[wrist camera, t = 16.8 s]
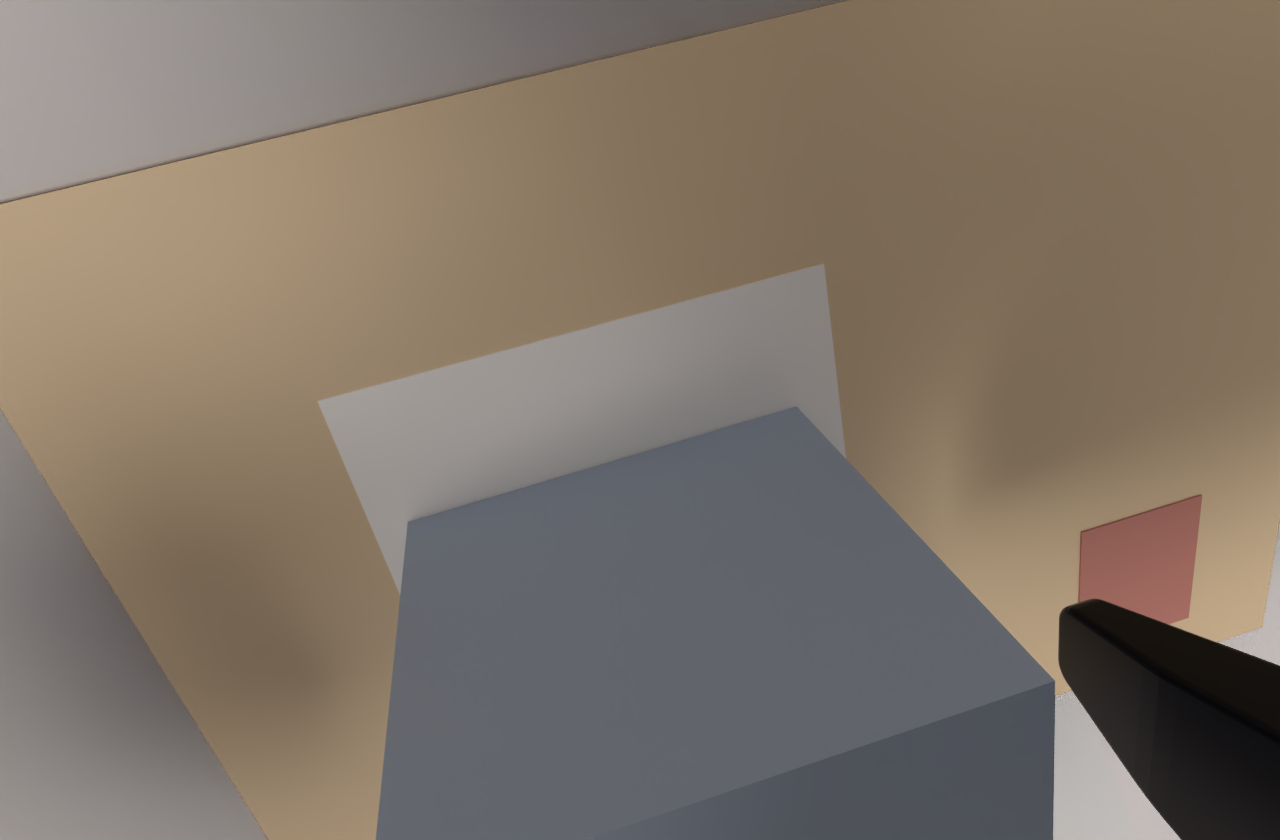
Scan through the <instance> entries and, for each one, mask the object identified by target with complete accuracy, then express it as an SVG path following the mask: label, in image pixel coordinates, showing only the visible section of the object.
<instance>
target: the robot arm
mask: <svg viewBox="0 0 1280 840" xmlns="http://www.w3.org/2000/svg"><path fill="white" fill-rule="evenodd" d="M1058 662H1059V667H1060V670H1061V673H1062V675H1063V677H1064V679H1065V681H1066V682H1067V684H1068V685H1069V687H1070V688H1071V690H1072V691H1073V692H1074V694H1075V695H1076V697H1077V698H1078V700H1079V701H1080V703H1081V704H1082V705H1083V707H1084V708H1085V710H1086V711H1087V713H1088V714H1089V716H1090V717H1091V719H1092V720H1093V721H1094V723H1095V724H1096V726H1097V727H1098V729H1099V730H1100V732H1101V733H1102V734H1103V736H1104V737H1105V739H1106V740H1107V742H1108V743H1109V745H1110V746H1111V748H1112V749H1113V750H1114V752H1115V753H1116V755H1117V756H1118V758H1119V759H1120V761H1121V762H1122V763H1123V765H1124V766H1125V768H1126V769H1127V771H1128V772H1129V774H1130V775H1131V776H1132V778H1133V779H1134V781H1135V782H1136V783H1137V785H1138V786H1139V788H1140V789H1141V790H1142V792H1143V793H1144V794H1145V796H1146V797H1147V799H1148V800H1149V801H1150V802H1151V804H1152V805H1153V806H1154V807H1155V808H1156V810H1157V811H1158V812H1159V813H1160V815H1161V816H1162V817H1163V818H1164V820H1165V821H1166V822H1167V823H1168V824H1169V826H1170V827H1171V828H1172V829H1173V830H1174V831H1175V833H1176V834H1177V835H1178V836H1179V837H1180V839H1181V840H1280V666H1279V665H1276V664H1274V663H1271V662H1268V661H1266V660H1263V659H1260V658H1258V657H1255V656H1252V655H1249V654H1247V653H1244V652H1241V651H1239V650H1236V649H1233V648H1231V647H1228V646H1225V645H1223V644H1220V643H1217V642H1215V641H1212V640H1209V639H1206V638H1204V637H1201V636H1198V635H1196V634H1193V633H1190V632H1188V631H1185V630H1182V629H1180V628H1177V627H1174V626H1172V625H1169V624H1166V623H1163V622H1161V621H1158V620H1155V619H1153V618H1150V617H1147V616H1145V615H1142V614H1139V613H1137V612H1134V611H1131V610H1128V609H1126V608H1123V607H1120V606H1118V605H1115V604H1112V603H1110V602H1107V601H1104V600H1101V599H1088V600H1085V601H1082V602H1079V603H1076V604H1072V605H1069V606H1066V607H1065V608H1063V609H1062V611H1061V613H1060V615H1059V640H1058Z"/></svg>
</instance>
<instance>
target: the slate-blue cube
mask: <svg viewBox="0 0 1280 840" xmlns="http://www.w3.org/2000/svg"><path fill="white" fill-rule="evenodd" d="M1054 726H1055V680H1054V679H1053V678H1052V677H1051V676H1050V675H1049V674H1048V673H1047V672H1046V671H1045V670H1044V669H1043V668H1042V666H1041V665H1040V664H1039V663H1038V662H1037V661H1036V660H1035V659H1034V658H1033V657H1032V656H1031V655H1030V654H1029V653H1028V652H1027V651H1026V649H1025V648H1024V647H1023V646H1022V645H1021V644H1020V643H1019V642H1018V641H1017V640H1016V639H1015V638H1014V637H1013V636H1012V635H1011V634H1010V632H1009V631H1008V630H1007V629H1006V628H1005V627H1004V626H1003V625H1002V624H1001V623H1000V622H999V621H998V620H997V619H996V618H995V617H994V615H993V614H992V613H991V612H990V611H989V610H988V609H987V608H986V607H985V606H984V605H983V604H982V603H981V602H980V601H979V600H978V598H977V597H976V596H975V595H974V594H973V593H972V592H971V591H970V590H969V589H968V588H967V587H966V586H965V585H964V584H963V583H962V581H961V580H960V579H959V578H958V577H957V576H956V575H955V574H954V573H953V572H952V571H951V570H950V569H949V568H948V567H947V566H946V564H945V563H944V562H943V561H942V560H941V559H940V558H939V557H938V556H937V555H936V554H935V553H934V552H933V551H932V550H931V549H930V547H929V546H928V545H927V544H926V543H925V542H924V541H923V540H922V539H921V538H920V537H919V536H918V535H917V534H916V533H915V532H914V530H913V529H912V528H911V527H910V526H909V525H908V524H907V523H906V522H905V521H904V520H903V519H902V518H901V517H900V516H899V515H898V513H897V512H896V511H895V510H894V509H893V508H892V507H891V506H890V505H889V504H888V503H887V502H886V501H885V500H884V499H883V498H882V496H881V495H880V494H879V493H878V492H877V491H876V490H875V489H874V488H873V487H872V486H871V485H870V484H869V483H868V482H867V481H866V479H865V478H864V477H863V476H862V475H861V474H860V473H859V472H858V471H857V470H856V469H855V468H854V467H853V466H852V465H851V464H850V462H849V461H848V460H847V459H846V458H845V457H844V456H843V455H842V454H841V453H840V452H839V451H838V450H837V449H836V448H835V447H834V446H833V444H832V443H831V442H830V441H829V440H828V439H827V438H826V437H825V436H824V435H823V434H822V433H821V432H820V431H819V430H818V429H817V427H816V426H815V425H814V424H813V423H812V422H811V421H810V420H809V419H808V418H807V417H806V416H805V415H804V414H803V413H802V412H801V410H800V409H799V408H798V407H797V406H796V407H793V408H790V409H786V410H783V411H780V412H776V413H773V414H769V415H766V416H763V417H759V418H756V419H753V420H749V421H746V422H743V423H739V424H736V425H733V426H729V427H726V428H723V429H719V430H716V431H712V432H709V433H706V434H702V435H699V436H696V437H692V438H689V439H686V440H682V441H679V442H676V443H672V444H669V445H665V446H662V447H659V448H655V449H652V450H649V451H645V452H642V453H639V454H635V455H632V456H629V457H625V458H622V459H618V460H615V461H612V462H608V463H605V464H602V465H598V466H595V467H592V468H588V469H585V470H582V471H578V472H575V473H571V474H568V475H565V476H561V477H558V478H555V479H551V480H548V481H545V482H541V483H538V484H535V485H531V486H528V487H525V488H521V489H518V490H514V491H511V492H508V493H504V494H501V495H498V496H494V497H491V498H488V499H484V500H481V501H478V502H474V503H471V504H467V505H464V506H461V507H457V508H454V509H451V510H447V511H444V512H441V513H437V514H434V515H431V516H427V517H424V518H420V519H417V520H414V521H410V522H408V524H407V534H406V544H405V554H404V564H403V574H402V584H401V593H400V603H399V613H398V623H397V633H396V643H395V653H394V663H393V673H392V683H391V693H390V703H389V713H388V722H387V732H386V742H385V752H384V762H383V772H382V782H381V792H380V802H379V812H378V822H377V832H376V840H1053V795H1054Z"/></svg>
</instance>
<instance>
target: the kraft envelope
mask: <svg viewBox="0 0 1280 840" xmlns="http://www.w3.org/2000/svg"><path fill="white" fill-rule="evenodd" d="M796 406H797V407H798V408H799V409H800V410H801V412H802V413H803V414H804V415H805V416H806V417H807V418H808V419H809V420H810V421H811V422H812V423H813V424H814V425H815V426H816V427H817V429H818V430H819V431H820V432H821V433H822V434H823V435H824V436H825V437H826V438H827V439H828V440H829V441H830V442H831V443H832V444H833V446H834V447H835V448H836V449H837V450H838V451H839V452H840V453H841V454H842V455H843V456H844V457H845V458H846V459H847V460H848V461H849V462H850V464H851V465H852V466H853V467H854V468H855V469H856V470H857V471H858V472H859V473H860V474H861V475H862V476H863V477H864V478H865V479H866V481H867V482H868V483H869V484H870V485H871V486H872V487H873V488H874V489H875V490H876V491H877V492H878V493H879V494H880V495H881V496H882V498H883V499H884V500H885V501H886V502H887V503H888V504H889V505H890V506H891V507H892V508H893V509H894V510H895V511H896V512H897V513H898V515H899V516H900V517H901V518H902V519H903V520H904V521H905V522H906V523H907V524H908V525H909V526H910V527H911V528H912V529H913V530H914V532H915V533H916V534H917V535H918V536H919V537H920V538H921V539H922V540H923V541H924V542H925V543H926V544H927V545H928V546H929V547H930V549H931V550H932V551H933V552H934V553H935V554H936V555H937V556H938V557H939V558H940V559H941V560H942V561H943V562H944V563H945V564H946V566H947V567H948V568H949V569H950V570H951V571H952V572H953V573H954V574H955V575H956V576H957V577H958V578H959V579H960V580H961V581H962V583H963V584H964V585H965V586H966V587H967V588H968V589H969V590H970V591H971V592H972V593H973V594H974V595H975V596H976V597H977V598H978V600H979V601H980V602H981V603H982V604H983V605H984V606H985V607H986V608H987V609H988V610H989V611H990V612H991V613H992V614H993V615H994V617H995V618H996V619H997V620H998V621H999V622H1000V623H1001V624H1002V625H1003V626H1004V627H1005V628H1006V629H1007V630H1008V631H1009V632H1010V634H1011V635H1012V636H1013V637H1014V638H1015V639H1016V640H1017V641H1018V642H1019V643H1020V644H1021V645H1022V646H1023V647H1024V648H1025V649H1026V651H1027V652H1028V653H1029V654H1030V655H1031V656H1032V657H1033V658H1034V659H1035V660H1036V661H1037V662H1038V663H1039V664H1040V665H1041V666H1042V668H1043V669H1044V670H1045V671H1046V672H1047V673H1048V674H1049V675H1050V676H1051V677H1052V678H1053V679H1054V680H1055V696H1056V695H1059V694H1062V693H1065V692H1068V691H1071V688H1070V687H1069V685H1068V684H1067V682H1066V681H1065V679H1064V677H1063V675H1062V673H1061V670H1060V667H1059V662H1058V640H1059V615H1060V613H1061V611H1062V609H1063V608H1065V607H1066V606H1069V605H1072V604H1076V603H1079V602H1082V601H1085V600H1088V599H1101V600H1104V601H1107V602H1110V603H1112V604H1115V605H1118V606H1120V607H1123V608H1126V609H1128V610H1131V611H1134V612H1137V613H1139V614H1142V615H1145V616H1147V617H1150V618H1153V619H1155V620H1158V621H1161V622H1163V623H1166V624H1169V625H1172V626H1174V627H1177V628H1180V629H1182V630H1185V631H1188V632H1190V633H1193V634H1196V635H1198V636H1201V637H1204V638H1206V639H1209V640H1212V641H1215V642H1219V641H1222V640H1225V639H1228V638H1231V637H1234V636H1237V635H1240V634H1243V633H1246V632H1249V631H1252V630H1255V629H1258V628H1261V627H1263V621H1264V615H1265V609H1266V602H1267V596H1268V590H1269V584H1270V578H1271V572H1272V566H1273V560H1274V554H1275V548H1276V541H1277V535H1278V529H1279V523H1280V0H847V1H843V2H838V3H834V4H830V5H826V6H822V7H818V8H813V9H809V10H805V11H801V12H797V13H793V14H789V15H784V16H780V17H776V18H772V19H768V20H764V21H759V22H755V23H751V24H747V25H743V26H739V27H734V28H730V29H726V30H722V31H718V32H714V33H709V34H705V35H701V36H697V37H693V38H689V39H684V40H680V41H676V42H672V43H668V44H664V45H660V46H655V47H651V48H647V49H643V50H639V51H635V52H630V53H626V54H622V55H618V56H614V57H610V58H605V59H601V60H597V61H593V62H589V63H585V64H580V65H576V66H572V67H568V68H564V69H560V70H555V71H551V72H547V73H543V74H539V75H535V76H530V77H526V78H522V79H518V80H514V81H510V82H506V83H501V84H497V85H493V86H489V87H485V88H481V89H476V90H472V91H468V92H464V93H460V94H456V95H451V96H447V97H443V98H439V99H435V100H431V101H426V102H422V103H418V104H414V105H410V106H406V107H401V108H397V109H393V110H389V111H385V112H381V113H377V114H372V115H368V116H364V117H360V118H356V119H352V120H347V121H343V122H339V123H335V124H331V125H327V126H322V127H318V128H314V129H310V130H306V131H302V132H297V133H293V134H289V135H285V136H281V137H277V138H272V139H268V140H264V141H260V142H256V143H252V144H248V145H243V146H239V147H235V148H231V149H227V150H223V151H218V152H214V153H210V154H206V155H202V156H198V157H193V158H189V159H185V160H181V161H177V162H173V163H168V164H164V165H160V166H156V167H152V168H148V169H143V170H139V171H135V172H131V173H127V174H123V175H119V176H114V177H110V178H106V179H102V180H98V181H94V182H89V183H85V184H81V185H77V186H73V187H69V188H64V189H60V190H56V191H52V192H48V193H44V194H39V195H35V196H31V197H27V198H23V199H19V200H14V201H10V202H6V203H2V204H0V409H1V410H2V412H3V414H4V415H5V417H6V419H7V420H8V422H9V423H10V425H11V427H12V428H13V430H14V431H15V433H16V435H17V436H18V438H19V439H20V441H21V443H22V444H23V446H24V448H25V449H26V451H27V452H28V454H29V456H30V457H31V459H32V460H33V462H34V464H35V465H36V467H37V468H38V470H39V472H40V473H41V475H42V477H43V478H44V480H45V481H46V483H47V485H48V486H49V488H50V489H51V491H52V493H53V494H54V496H55V497H56V499H57V501H58V502H59V504H60V505H61V507H62V509H63V510H64V512H65V514H66V515H67V517H68V518H69V520H70V522H71V523H72V525H73V526H74V528H75V530H76V531H77V533H78V534H79V536H80V538H81V539H82V541H83V543H84V544H85V546H86V547H87V549H88V551H89V552H90V554H91V555H92V557H93V559H94V560H95V562H96V563H97V565H98V567H99V568H100V570H101V572H102V573H103V575H104V576H105V578H106V580H107V581H108V583H109V584H110V586H111V588H112V589H113V591H114V592H115V594H116V596H117V597H118V599H119V601H120V602H121V604H122V605H123V607H124V609H125V610H126V612H127V613H128V615H129V617H130V618H131V620H132V621H133V623H134V625H135V626H136V628H137V630H138V631H139V633H140V634H141V636H142V638H143V639H144V641H145V642H146V644H147V646H148V647H149V649H150V650H151V652H152V654H153V655H154V657H155V658H156V660H157V662H158V663H159V665H160V667H161V668H162V670H163V671H164V673H165V675H166V676H167V678H168V679H169V681H170V683H171V684H172V686H173V687H174V689H175V691H176V692H177V694H178V696H179V697H180V699H181V700H182V702H183V704H184V705H185V707H186V708H187V710H188V712H189V713H190V715H191V716H192V718H193V720H194V721H195V723H196V725H197V726H198V728H199V729H200V731H201V733H202V734H203V736H204V737H205V739H206V741H207V742H208V744H209V745H210V747H211V749H212V750H213V752H214V754H215V755H216V757H217V758H218V760H219V762H220V763H221V765H222V766H223V768H224V770H225V771H226V773H227V774H228V776H229V778H230V779H231V781H232V783H233V784H234V786H235V787H236V789H237V791H238V792H239V794H240V795H241V797H242V799H243V800H244V802H245V803H246V805H247V807H248V808H249V810H250V811H251V813H252V815H253V816H254V818H255V820H256V821H257V823H258V824H259V826H260V828H261V829H262V831H263V832H264V834H265V836H266V837H267V839H268V840H376V832H377V822H378V812H379V802H380V792H381V782H382V772H383V762H384V752H385V742H386V732H387V722H388V713H389V703H390V693H391V683H392V673H393V663H394V653H395V643H396V633H397V623H398V613H399V603H400V593H401V584H402V574H403V564H404V554H405V544H406V534H407V524H408V522H410V521H414V520H417V519H420V518H424V517H427V516H431V515H434V514H437V513H441V512H444V511H447V510H451V509H454V508H457V507H461V506H464V505H467V504H471V503H474V502H478V501H481V500H484V499H488V498H491V497H494V496H498V495H501V494H504V493H508V492H511V491H514V490H518V489H521V488H525V487H528V486H531V485H535V484H538V483H541V482H545V481H548V480H551V479H555V478H558V477H561V476H565V475H568V474H571V473H575V472H578V471H582V470H585V469H588V468H592V467H595V466H598V465H602V464H605V463H608V462H612V461H615V460H618V459H622V458H625V457H629V456H632V455H635V454H639V453H642V452H645V451H649V450H652V449H655V448H659V447H662V446H665V445H669V444H672V443H676V442H679V441H682V440H686V439H689V438H692V437H696V436H699V435H702V434H706V433H709V432H712V431H716V430H719V429H723V428H726V427H729V426H733V425H736V424H739V423H743V422H746V421H749V420H753V419H756V418H759V417H763V416H766V415H769V414H773V413H776V412H780V411H783V410H786V409H790V408H793V407H796Z"/></svg>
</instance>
